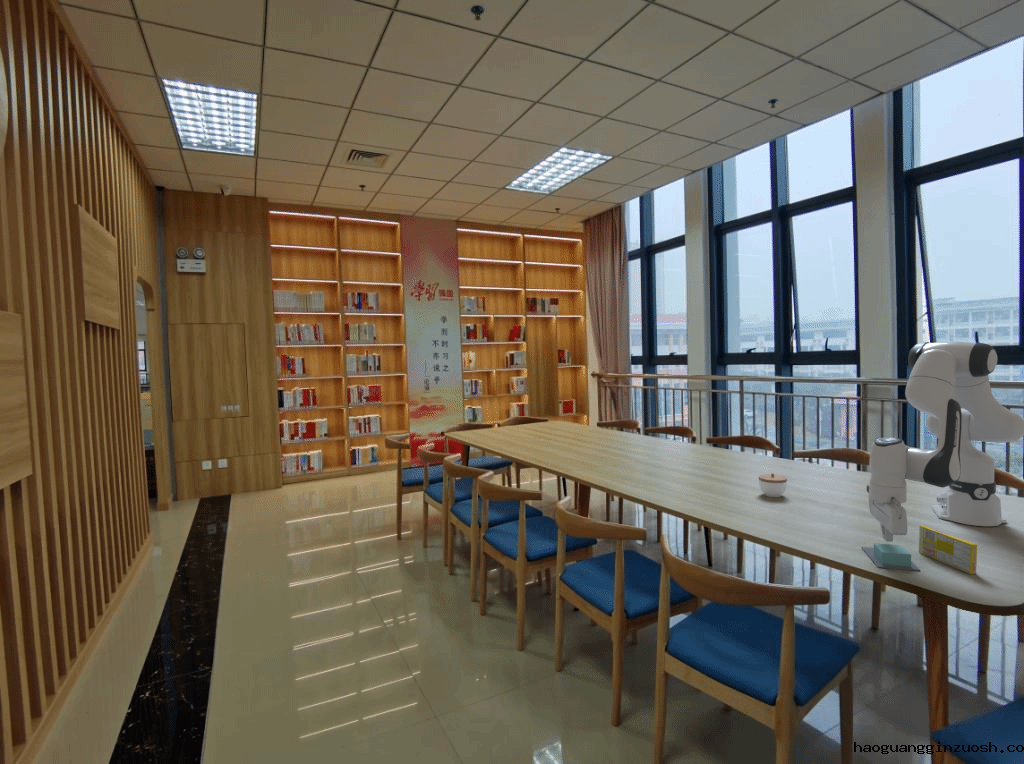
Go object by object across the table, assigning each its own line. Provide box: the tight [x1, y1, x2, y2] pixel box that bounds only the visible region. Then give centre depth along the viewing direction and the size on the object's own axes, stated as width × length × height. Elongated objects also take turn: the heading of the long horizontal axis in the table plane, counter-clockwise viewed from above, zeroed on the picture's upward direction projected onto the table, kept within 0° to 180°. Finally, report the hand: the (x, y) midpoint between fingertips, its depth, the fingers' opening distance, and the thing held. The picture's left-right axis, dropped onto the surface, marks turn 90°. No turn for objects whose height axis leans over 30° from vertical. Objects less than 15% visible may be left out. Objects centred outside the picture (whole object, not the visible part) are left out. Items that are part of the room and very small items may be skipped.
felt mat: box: [861, 546, 921, 572], centre depth 152 cm, size 15×10×1 cm, turn 161°
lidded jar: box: [758, 472, 788, 498], centre depth 220 cm, size 11×11×9 cm
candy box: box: [918, 525, 978, 575], centre depth 149 cm, size 16×2×8 cm, turn 6°
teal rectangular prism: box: [873, 543, 912, 567], centre depth 150 cm, size 4×7×7 cm
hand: (887, 539), depth 153 cm, fingers closed
